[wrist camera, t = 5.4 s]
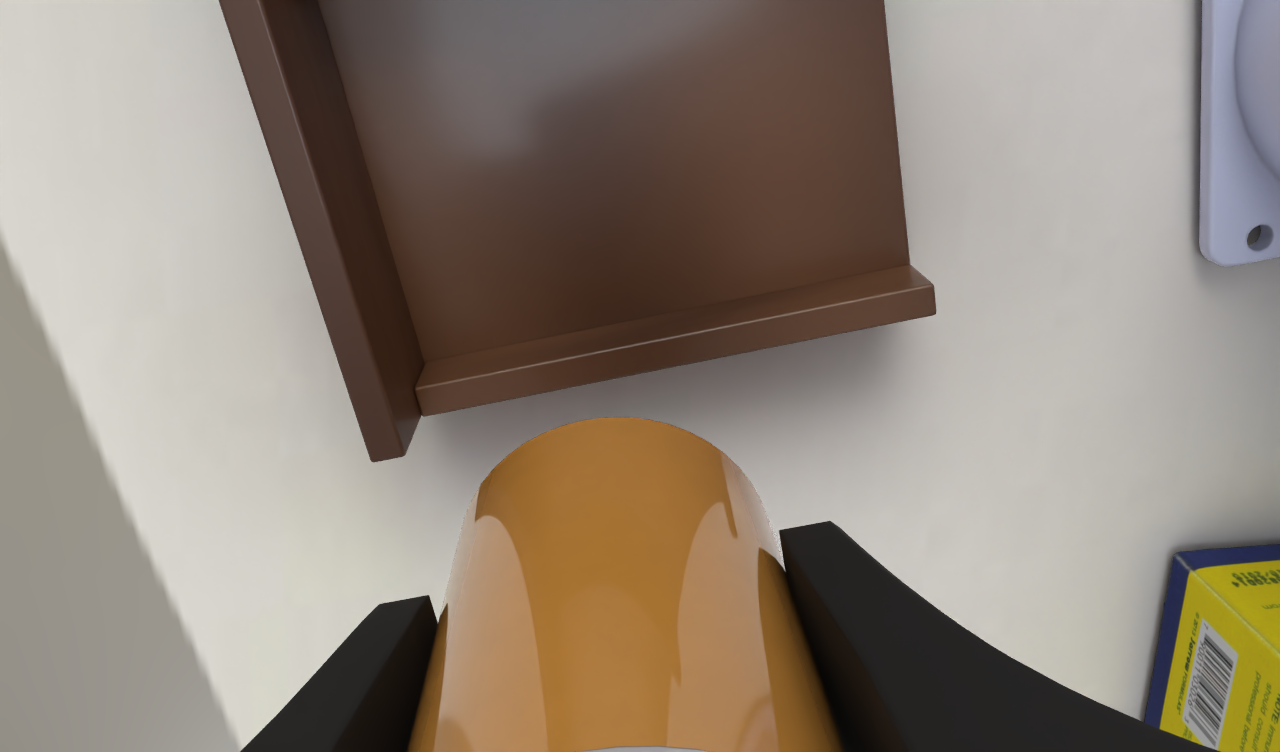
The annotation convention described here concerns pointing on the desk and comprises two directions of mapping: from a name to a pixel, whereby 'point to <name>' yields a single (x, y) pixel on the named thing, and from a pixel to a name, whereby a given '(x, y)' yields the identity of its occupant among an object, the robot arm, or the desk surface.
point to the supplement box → (1220, 650)
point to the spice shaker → (620, 607)
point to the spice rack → (577, 186)
